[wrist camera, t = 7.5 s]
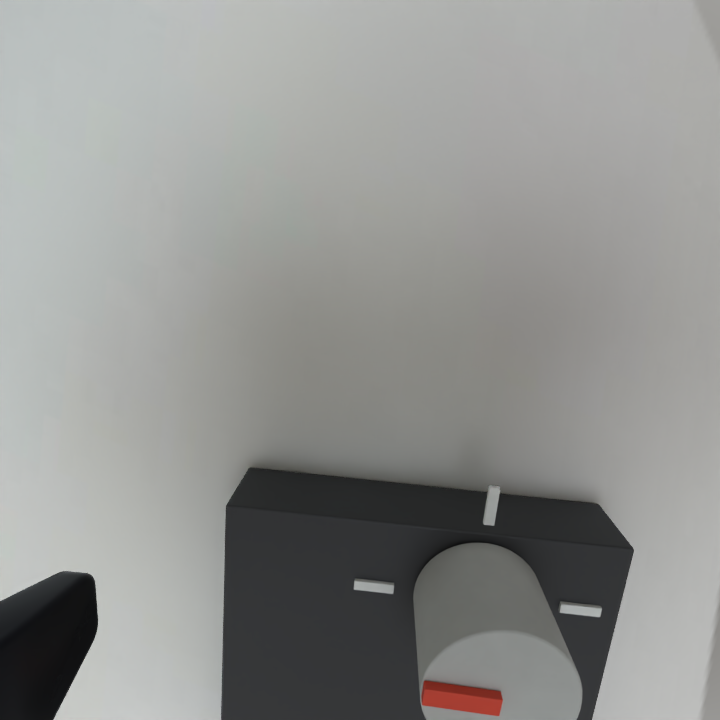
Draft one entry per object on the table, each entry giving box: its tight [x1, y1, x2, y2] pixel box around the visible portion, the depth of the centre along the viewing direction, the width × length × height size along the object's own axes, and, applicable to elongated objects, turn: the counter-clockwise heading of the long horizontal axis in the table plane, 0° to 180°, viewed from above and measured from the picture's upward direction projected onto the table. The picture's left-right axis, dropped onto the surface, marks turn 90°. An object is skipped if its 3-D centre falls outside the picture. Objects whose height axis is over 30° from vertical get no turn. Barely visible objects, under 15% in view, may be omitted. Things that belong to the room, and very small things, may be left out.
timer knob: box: [413, 543, 582, 720], centre depth 15 cm, size 4×4×4 cm
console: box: [221, 468, 634, 720], centre depth 20 cm, size 14×16×3 cm
